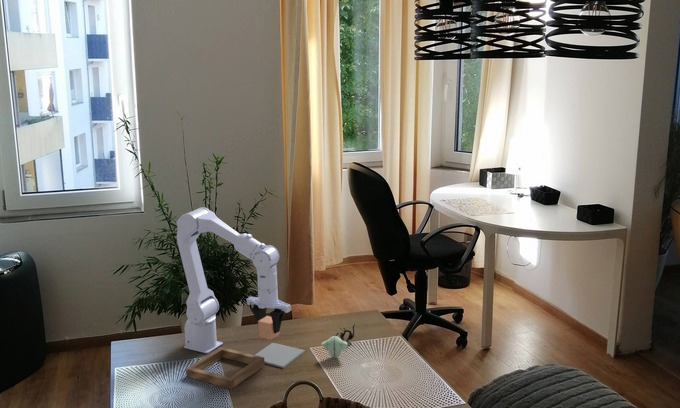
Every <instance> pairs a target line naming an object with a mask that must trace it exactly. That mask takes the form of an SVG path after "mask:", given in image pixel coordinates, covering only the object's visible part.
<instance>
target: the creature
mask: <svg viewBox="0 0 680 408" xmlns="http://www.w3.org/2000/svg"><path fill="white" fill-rule="evenodd" d="M355 325H356V324H353V326H352V331H351V330H349V329H346V328H345V327H343V329H341V328H340V327H339V329H340V331H341V332H340V333H339V332H337V333H336V334H333V335H332V336H338V335H339V338H340V339H341V340H343V339H342V338H344V337H345V335H346V333H347V332H348V333H349V335H348V337H347V338H346V340H345V342H347V343H348V340H349V341H351V340H352V339H354V337H355Z"/></svg>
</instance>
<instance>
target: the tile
mask: <svg viewBox="0 0 680 408" xmlns="http://www.w3.org/2000/svg"><path fill="white" fill-rule="evenodd" d="M304 353H306V349H301V348H297V347H293V346H288V345H285V344H280V343H276V342H272V343H270V344H269V345H267V346H265V347H264V348H262V349H261V350H259V351H258V352H257V353H255V354H254V355H256V356H260V357H264V361H265V365H270V366H272V367H273V366H274V367H278V368H282V369H285V368H286V367H288V366H289V365H290V364H291V363H292V362H294V361H295V360H296V359H298V358H299V357H301V356H302V355H303V354H304Z"/></svg>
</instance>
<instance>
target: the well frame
mask: <svg viewBox="0 0 680 408" xmlns="http://www.w3.org/2000/svg"><path fill="white" fill-rule="evenodd" d="M222 358H223V359H227V360H231V361H236V362H239V363H243V364H247V365H246V366H244V367H243V368H241V369H240V370H238V371H237V372H235V373H234V374H233V375H231V376H225V375H222V374H219V373H215V372H211V371H207V370H206V368H209V367H210V366H212V365H213V364H215V363H216V362H218V361H220V360H221V359H222ZM265 365H266V364H265V361H264V357H260V356H256V355H255V354H253V353H247V352H244V351H239V350H235V349H233V348H232V349H231V348H227V347H223V346H219V347H218V348H216V349H214V350H213V351H211V352H210V353H208V354H207V355H206V356H204V357H203V358H201V359H200V360H198V361H196V362H195V363H193V364H191V365H189V366H188V367H186V368H185V374H186V377H187V378H189V377H190V379H194V380H196V379H197V381H200V380H201V382H203V381H205V382H204V383H207V382H208V383H207V384H210V383H211V385H214V386H217V387H218V386H219V387H220V388H221V387H222V388H225V389H229V390H233V389H234V388H235V387H237V386H239V384H242V382H244V381H245V380H246V379H247V378H249V377H251V376H252V375H253V374H255V373H256V372H257V371H259V370H260V369H262V368H263V367H265Z"/></svg>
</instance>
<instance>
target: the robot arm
mask: <svg viewBox="0 0 680 408" xmlns="http://www.w3.org/2000/svg"><path fill="white" fill-rule="evenodd" d="M175 223H176V226H177V231H176V242H177V246H178V250H179V251H178V252H179V254H180V259H181V263H182V265H183V266H182V267H183V271H184V274H185V278H186V282H187V286H188V291H189V295H188V297H187V299H186V302H185V304H186V314H185V315H186V317H187V320H186V322H185V324H184V338H185V339H184V340H185V341H184V343H185V345H184V346H183V348H184V349H187V350H191V351H195V352H199V353H202V354H210V353H212V352H213V351H215V350H217V349H218V348H220V347H221V346H222V345H223V344H224V343H223V341H218V340H217V325H216V323H217V322H216V318H217V315H216V314H217V313H218V311H219V309H220V304H219V301H218V299H217V298H216V296H215V293H214V291H213V290H211V289H210V288H209V287H208V285H207V279H206V277H205V273H204V268H203V265H202V260H201V256H200V255H201V254H200V252H199V248H198V244H197V239H198V237H199V236H200V235H201V234H202V233H210V232H211V233H213V234H215V235H216V236H219V237H220V238H222V239H224V240H226V241H227V242H229V243H230V244H233V247H234V250H235V251H237V252H238V253H239V254H241V255H243V256H245V258H247V259H248V260H249V259H250V261H252V263H253V266H254V267H255V269H256V275H257V276H256V277H257V294H258V297H257V296H249V297H248V298H246V305H248V306H252V305H253V306H252V307H251V309H250V312H251V314H253V316H254V317H255V319H256V321H257V323H258V321H259V320H261V319H262V318H264V317H266V316H267V310H268V309H272V310H273V311H271V312H270V313H269V316H270V317H271V318H272V322H273V331H274V333H277V332H279V331H280V332H281V330H280V329H281V326H282V321H283V319H284V316H285V314H286V313H289V312H291V311H292V305H291V304H289V303H286V302H284V301H282V300H280V299H279V297H278V296H279V294H278V268H277V263H278V262H279V261H280V252H279V250H278V249H277V248H276V247H275V246H274V245H271V244H268V245H266V244H265V243H264V242H260V241H259V240H257V239H256V238H254V237H253V235H252V234H250V233H239V232H238V231H236V230H235V229H233V228H232V227H230V226H229V225H228V224H227V223H225V222H224V221H223V220H221V219H220V218H219V217H217V215H216V214H215V212H214V211H211V210H210V209H209V208H207V207H204V206H202V207H199V208H197V209H193V210H192V211H189V212H187V213H184V214H182V215H181V216H180V217H179V218H178V219H177V220H176V222H175Z"/></svg>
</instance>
